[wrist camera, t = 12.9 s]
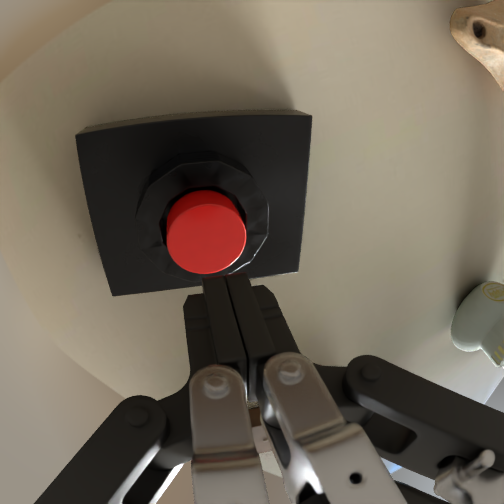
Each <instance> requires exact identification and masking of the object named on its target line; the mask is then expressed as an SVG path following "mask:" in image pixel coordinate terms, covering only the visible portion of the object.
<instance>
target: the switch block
mask: <svg viewBox="0 0 504 504" xmlns="http://www.w3.org/2000/svg"><path fill="white" fill-rule="evenodd" d="M311 128H312V116H311V115H309V114H306V113H304V112H301V111H298V110H227V111H208V112H194V113H182V114H172V115H162V116H154V117H146V118H138V119H131V120H124V121H118V122H112V123H106V124H101V125H95V126H90V127H86V128H85V129H83V130H82V131H80V132H79V133H78V134H76V136H75V137H76V144H77V151H78V157H79V163H80V169H81V175H82V180H83V185H84V190H85V195H86V200H87V205H88V209H89V214H90V218H91V222H92V226H93V230H94V234H95V238H96V242H97V246H98V250H99V253H100V257H101V260H102V264H103V267H104V271H105V274H106V277H107V281H108V284H109V287H110V290H111V293H112V296H121V295H129V294H138V293H146V292H155V291H163V290H171V289H179V288H187V287H195V286H202V278H205V277H213V276H221V275H223V276H224V275H228V274H236V273H243V272H246V273H247V275H248V278H249V279H254V278H261V277H268V276H275V275H282V274H289V273H295V272H298V269H299V261H300V252H301V243H302V234H303V224H304V214H305V203H306V193H307V181H308V169H309V157H310V143H311ZM198 190H212V191H216V192H219V193H221V194H223V195H225V196H226V197H228V198H229V199H230V200H231V201H232V202H233V204H234V205H235V207H236V208H237V211H238V213H239V215H240V217H241V219H242V221H243V223H244V226H245V229H246V243H245V246H244V249H243V251H242V253H241V255H240V256H239V257H238V259H237V260H236V261H235V262H234V263H232V264H231V265H230V266H228V267H227V268H225V269H223V270H221V271H218V272H214V273H208V274H199V273H194V272H190V271H187V270H185V269H183V268H182V267H180V266H179V265H178V264H177V263H176V262H175V261H174V260H173V259H172V257H171V256H170V254H169V251H168V248H167V236H166V223H167V217H168V214H169V211H170V209H171V208H172V206H173V205H174V204H175V203H176V202H177V201H178V200H179V199H180V198H181V197H183V196H184V195H186V194H188V193H191V192H194V191H198Z"/></svg>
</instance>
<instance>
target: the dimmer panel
mask: <svg viewBox="0 0 504 504" xmlns="http://www.w3.org/2000/svg"><path fill="white" fill-rule="evenodd" d="M248 410H249V416H250V421H251V426H252V431H253V437H254V442H255V447H256V450H257V452H258V454H259V453H264V452H268V451H272V448H271V446H270V444H269V441H268V439H267V436H266V434H265V431H264V429H263V426H262V424H261V420H260V415H261V411H260V408H254V409H248Z"/></svg>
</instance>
